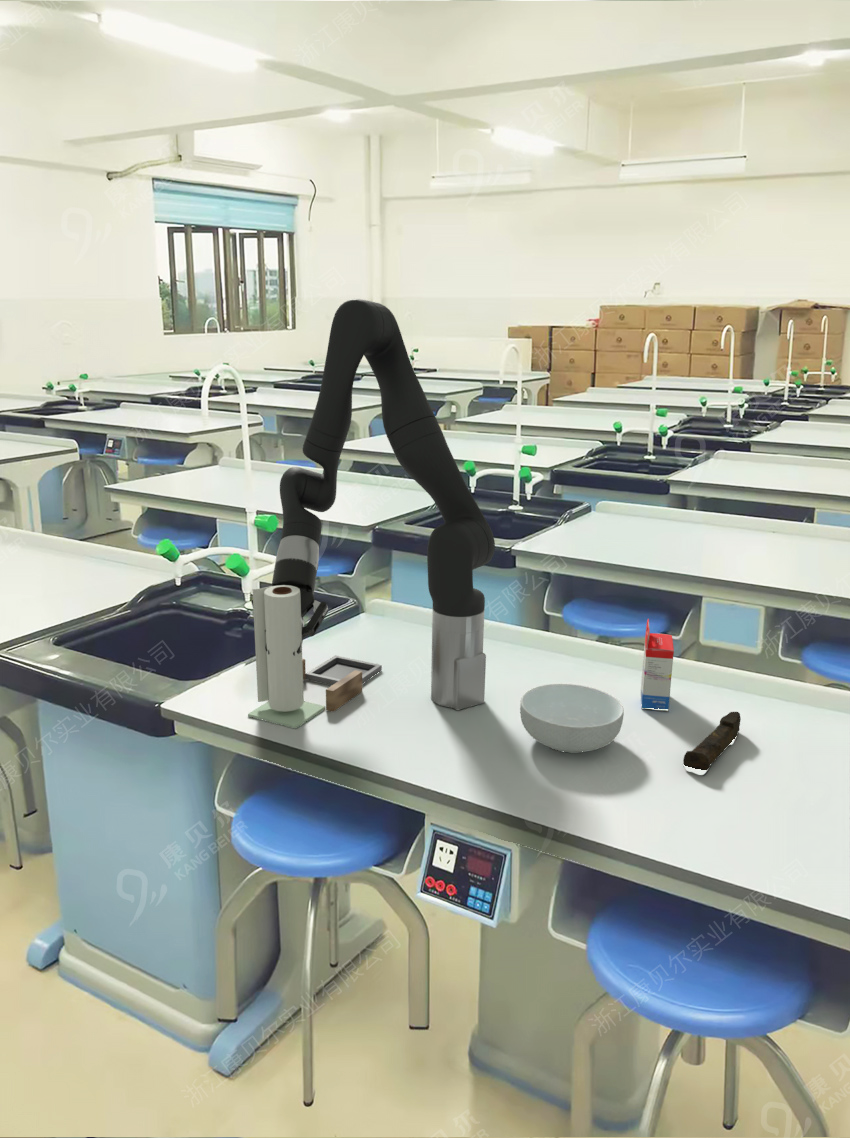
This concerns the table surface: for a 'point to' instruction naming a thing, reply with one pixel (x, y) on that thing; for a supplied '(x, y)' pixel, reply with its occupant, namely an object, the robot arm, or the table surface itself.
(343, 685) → the walnut guide channel
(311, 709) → the sage pad
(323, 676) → the gray square tray
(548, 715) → the cereal bowl
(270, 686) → the paper towel roll
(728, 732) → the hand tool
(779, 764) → the table surface
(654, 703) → the ink box
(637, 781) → the table surface
